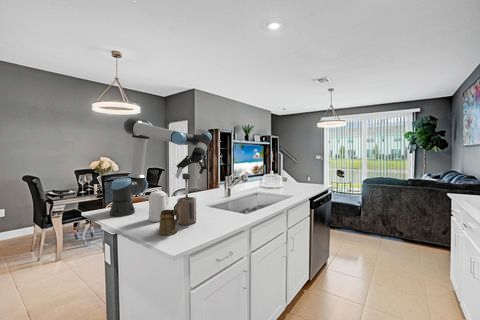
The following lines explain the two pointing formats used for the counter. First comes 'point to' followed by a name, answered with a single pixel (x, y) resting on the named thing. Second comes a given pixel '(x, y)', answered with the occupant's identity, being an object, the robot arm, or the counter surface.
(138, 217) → the counter surface
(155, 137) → the robot arm
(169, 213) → the wooden mug
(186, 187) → the plunger
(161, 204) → the coffeepot
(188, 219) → the press carafe
